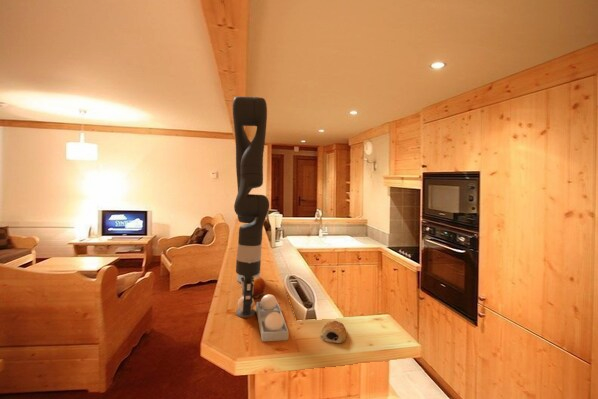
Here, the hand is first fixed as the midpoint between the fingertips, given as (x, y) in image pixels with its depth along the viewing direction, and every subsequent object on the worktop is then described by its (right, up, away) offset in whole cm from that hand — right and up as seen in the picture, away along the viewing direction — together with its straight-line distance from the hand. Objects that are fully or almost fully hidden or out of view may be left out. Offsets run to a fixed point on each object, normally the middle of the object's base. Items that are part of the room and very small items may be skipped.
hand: (245, 308), depth 91 cm
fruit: (0, -1, +14) cm, 15 cm away
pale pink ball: (0, +2, 0) cm, 2 cm away
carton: (+8, -2, -5) cm, 10 cm away
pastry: (+27, -4, -10) cm, 29 cm away
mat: (0, -1, 0) cm, 1 cm away
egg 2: (+10, +1, -11) cm, 15 cm away
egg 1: (+7, +2, +1) cm, 7 cm away
